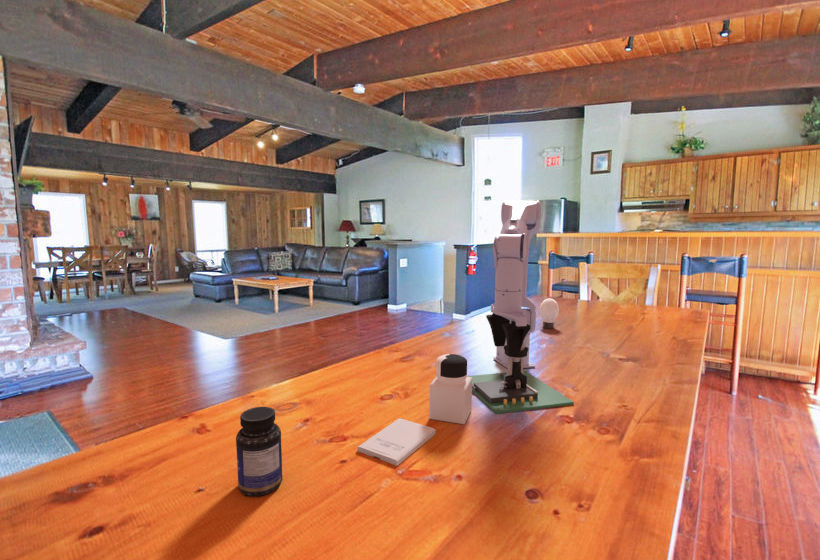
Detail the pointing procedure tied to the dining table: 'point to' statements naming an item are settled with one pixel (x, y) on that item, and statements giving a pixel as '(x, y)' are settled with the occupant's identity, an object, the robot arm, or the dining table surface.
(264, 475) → the pill bottle
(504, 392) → the pad
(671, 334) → the dining table surface
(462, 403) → the medicine bottle
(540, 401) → the circuit board
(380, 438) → the external hard drive
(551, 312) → the light bulb
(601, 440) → the dining table surface
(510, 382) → the push button
